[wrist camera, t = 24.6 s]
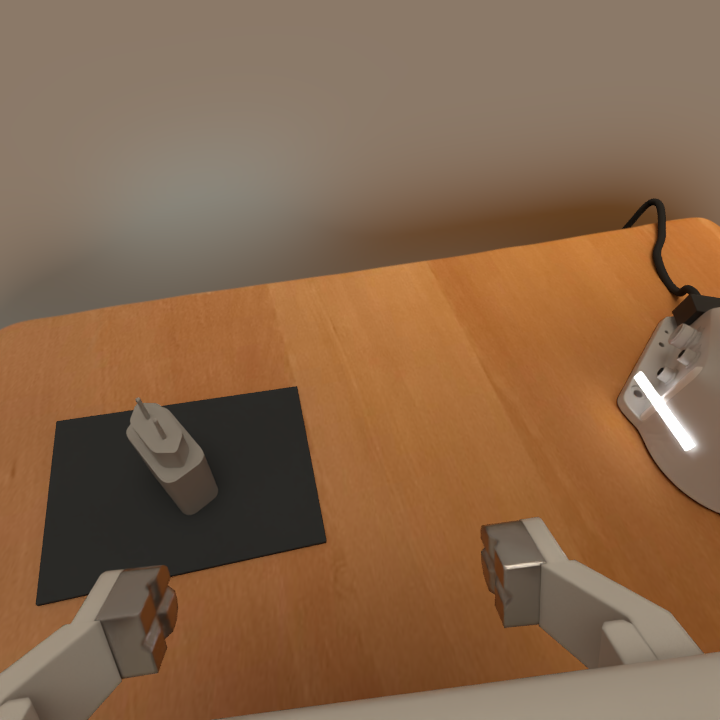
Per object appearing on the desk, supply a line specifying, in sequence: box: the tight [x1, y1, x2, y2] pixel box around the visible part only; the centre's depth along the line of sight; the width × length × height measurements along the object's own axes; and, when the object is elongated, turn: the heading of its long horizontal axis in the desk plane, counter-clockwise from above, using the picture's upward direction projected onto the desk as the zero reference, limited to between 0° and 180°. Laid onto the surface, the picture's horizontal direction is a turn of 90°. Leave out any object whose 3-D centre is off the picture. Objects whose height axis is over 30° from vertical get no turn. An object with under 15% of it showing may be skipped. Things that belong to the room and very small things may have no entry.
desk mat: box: [36, 386, 326, 606], centre depth 38 cm, size 20×14×1 cm
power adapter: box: [126, 398, 218, 515], centre depth 33 cm, size 3×5×12 cm, turn 45°
